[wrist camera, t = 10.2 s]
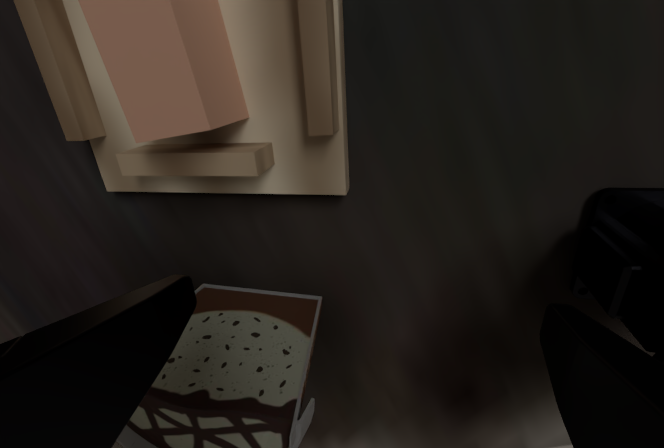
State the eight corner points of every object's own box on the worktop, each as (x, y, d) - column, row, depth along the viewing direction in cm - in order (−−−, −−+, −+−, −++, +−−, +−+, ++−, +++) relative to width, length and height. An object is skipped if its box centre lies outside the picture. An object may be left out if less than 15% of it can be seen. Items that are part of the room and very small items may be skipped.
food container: (200, 342, 29) (106, 466, 20) (185, 281, 26) (68, 393, 17) (344, 363, 26) (310, 516, 17) (343, 298, 24) (302, 439, 15)
